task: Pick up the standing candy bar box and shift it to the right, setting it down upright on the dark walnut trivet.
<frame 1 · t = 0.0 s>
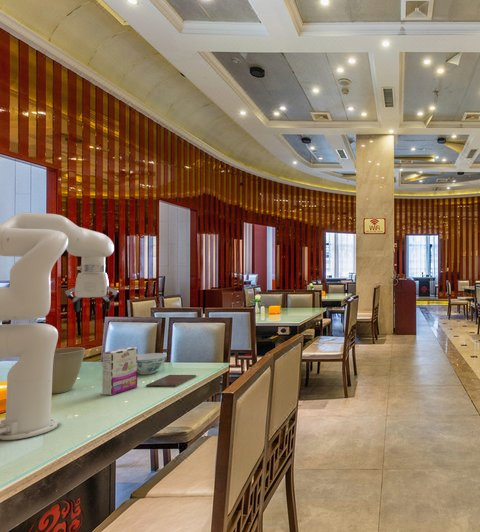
hand: (91, 311, 152), 31 cm above the table, tool pointing down, fingers open, 9 cm apart
plant pot: (59, 391, 147), on the table
chinaware: (147, 373, 176), on the table
candy bar box: (119, 391, 148), on the table
trivet: (172, 381, 162), on the table
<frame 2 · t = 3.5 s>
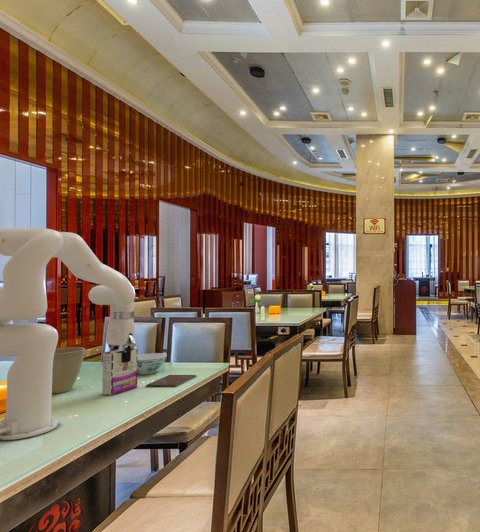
hand: (120, 361, 148), 12 cm above the table, tool pointing down, fingers closed on candy bar box, 5 cm apart
candy bar box: (119, 391, 148), on the table, touching gripper
everything else where it was.
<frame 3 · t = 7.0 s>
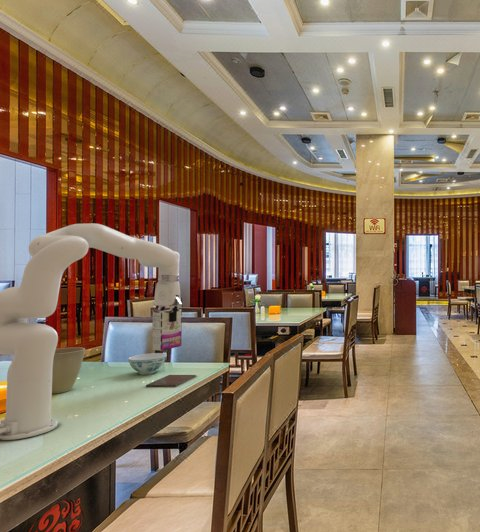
hand: (167, 320, 161), 27 cm above the table, tool pointing down, fingers closed on candy bar box, 5 cm apart
candy bar box: (166, 348, 160), point 14 cm above the table, touching gripper
everything else where it was.
when the fingers open (13 cm above the table, at t = 10.5 s): candy bar box stays where it is, resting on trivet.
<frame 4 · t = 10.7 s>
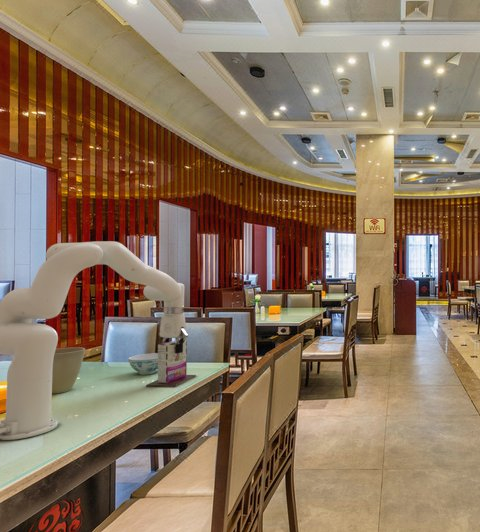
hand: (172, 351, 162), 13 cm above the table, tool pointing down, fingers open, 6 cm apart
candy bar box: (172, 380, 162), point 1 cm above the table, touching trivet
everything else where it was.
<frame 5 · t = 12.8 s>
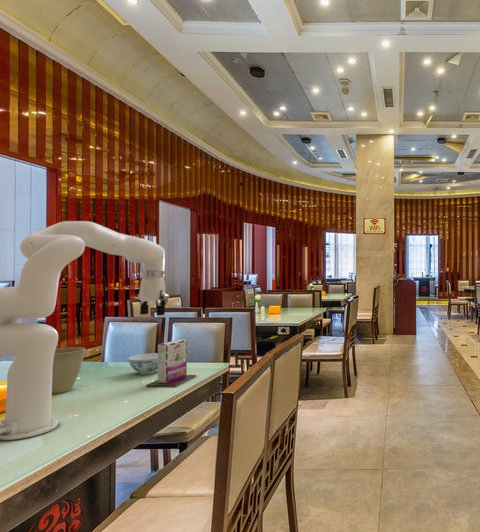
hand: (152, 314, 161), 29 cm above the table, tool pointing down, fingers open, 9 cm apart
nothing on the table moved.
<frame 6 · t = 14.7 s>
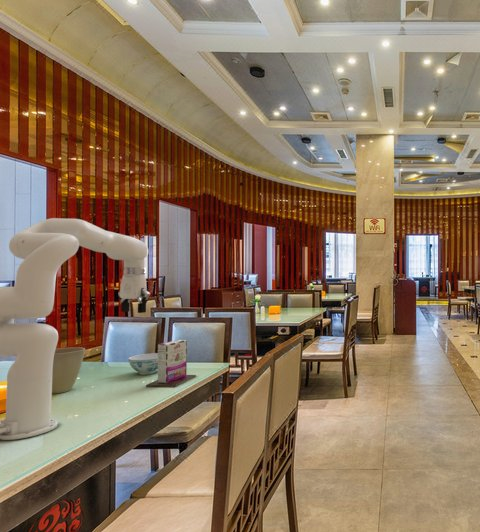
hand: (133, 312, 159), 30 cm above the table, tool pointing down, fingers open, 9 cm apart
nothing on the table moved.
at the end: candy bar box inside the target area (0.1 cm from its centre), point 0.6 cm above the table; candy bar box tilted 0°; candy bar box moved 18.5 cm from its start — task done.
